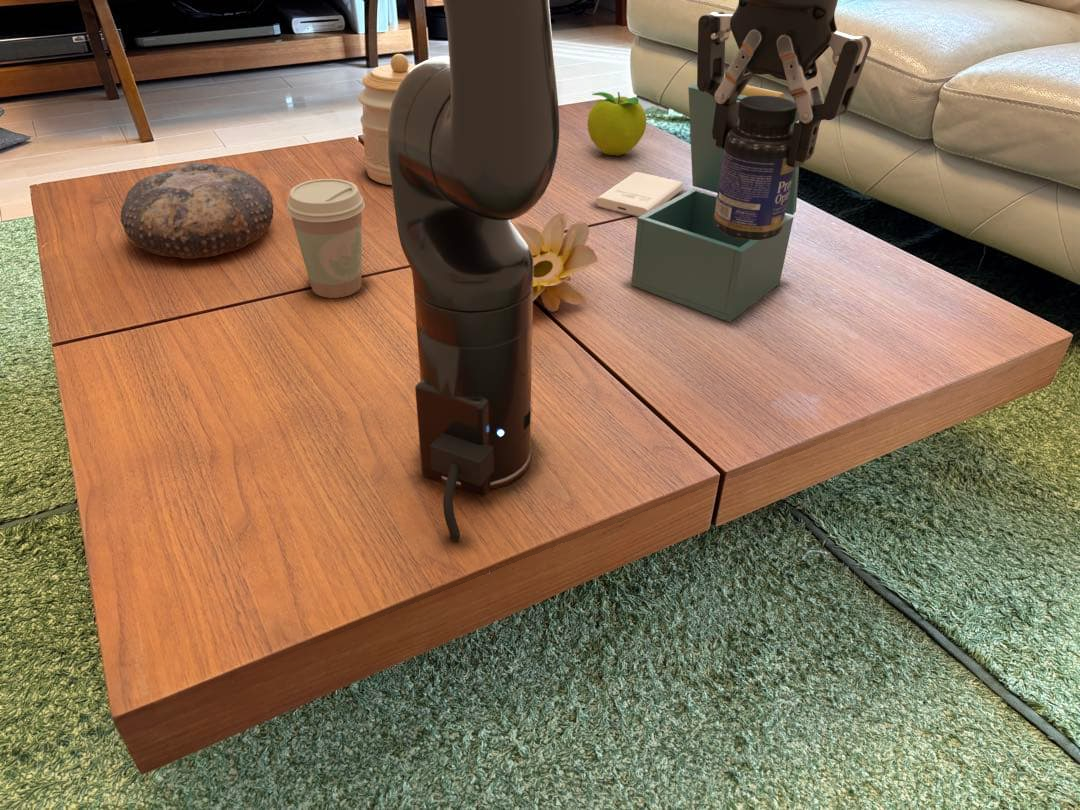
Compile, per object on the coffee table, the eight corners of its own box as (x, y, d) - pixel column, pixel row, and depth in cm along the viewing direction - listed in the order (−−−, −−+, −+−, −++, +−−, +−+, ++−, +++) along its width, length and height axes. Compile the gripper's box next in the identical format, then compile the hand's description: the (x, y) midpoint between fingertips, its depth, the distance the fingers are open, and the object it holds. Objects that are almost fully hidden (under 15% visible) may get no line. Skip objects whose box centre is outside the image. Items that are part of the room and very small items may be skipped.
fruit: (615, 166, 135) (620, 103, 130) (576, 151, 141) (579, 90, 135) (653, 155, 140) (660, 94, 134) (614, 140, 146) (618, 81, 140)
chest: (729, 322, 95) (742, 251, 90) (630, 285, 102) (637, 217, 97) (779, 284, 103) (793, 217, 98) (684, 252, 110) (693, 187, 105)
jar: (354, 165, 133) (341, 48, 123) (430, 154, 138) (424, 40, 128) (382, 193, 124) (370, 69, 114) (462, 180, 129) (458, 60, 119)
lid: (799, 111, 87) (822, 87, 89) (688, 87, 94) (712, 64, 96) (792, 215, 97) (813, 190, 99) (692, 186, 104) (714, 163, 106)
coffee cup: (316, 310, 95) (300, 211, 88) (290, 281, 101) (273, 185, 94) (385, 292, 99) (375, 195, 92) (356, 264, 105) (344, 171, 98)
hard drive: (681, 192, 127) (646, 219, 118) (633, 180, 130) (596, 206, 122) (683, 181, 126) (648, 208, 117) (634, 170, 129) (596, 195, 121)
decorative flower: (452, 262, 102) (470, 184, 96) (531, 264, 108) (552, 191, 102) (503, 326, 92) (527, 243, 86) (588, 325, 97) (614, 247, 92)
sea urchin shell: (112, 271, 100) (90, 187, 96) (147, 234, 117) (129, 161, 113) (272, 257, 103) (258, 176, 99) (284, 223, 120) (272, 151, 116)
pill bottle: (782, 245, 72) (808, 116, 66) (710, 238, 73) (730, 110, 67) (780, 217, 77) (805, 95, 71) (714, 211, 78) (732, 89, 72)
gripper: (688, -74, 63) (664, 147, 73) (873, -54, 55) (819, 189, 65) (737, -81, 67) (708, 127, 77) (914, -64, 60) (857, 164, 70)
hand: (759, 154), depth 71 cm, fingers closed on pill bottle, 6 cm apart
